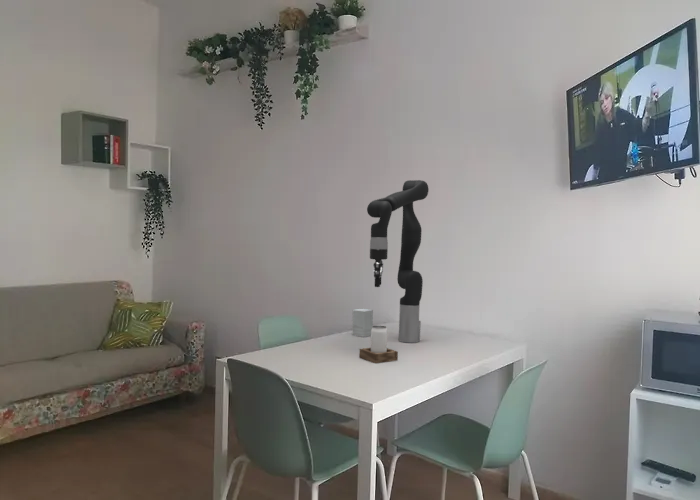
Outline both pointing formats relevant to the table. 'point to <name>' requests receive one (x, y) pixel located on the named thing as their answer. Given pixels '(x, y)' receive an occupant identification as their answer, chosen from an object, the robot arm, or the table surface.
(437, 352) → the table surface
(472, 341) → the table surface
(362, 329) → the supplement box
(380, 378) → the table surface
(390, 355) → the tray
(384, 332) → the can
